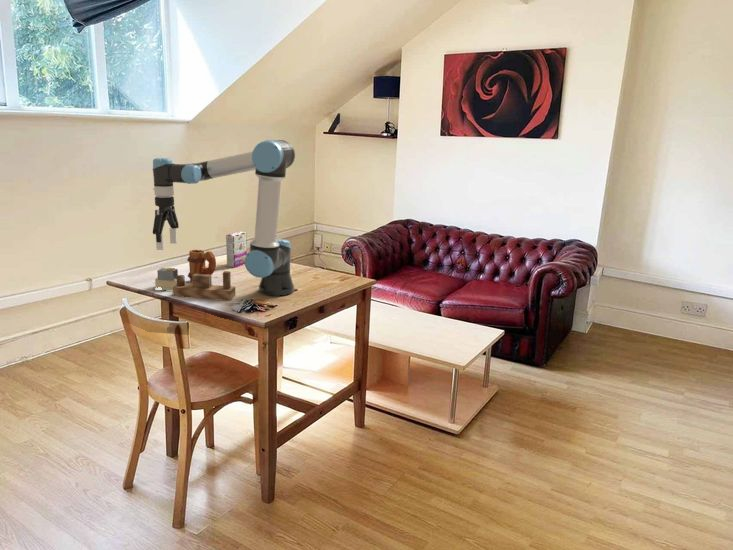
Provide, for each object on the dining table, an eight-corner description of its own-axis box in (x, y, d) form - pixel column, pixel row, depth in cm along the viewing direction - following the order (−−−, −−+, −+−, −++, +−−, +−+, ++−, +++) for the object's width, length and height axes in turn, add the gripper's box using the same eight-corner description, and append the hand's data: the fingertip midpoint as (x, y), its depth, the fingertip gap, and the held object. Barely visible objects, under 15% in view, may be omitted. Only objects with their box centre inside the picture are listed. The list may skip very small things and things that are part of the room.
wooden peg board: (235, 295, 239) (235, 270, 236) (230, 300, 232) (229, 274, 229) (179, 291, 240) (179, 266, 237) (173, 296, 233) (172, 270, 231)
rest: (184, 285, 250) (183, 276, 248) (174, 291, 240) (174, 282, 239) (162, 283, 250) (161, 275, 249) (151, 290, 241) (151, 281, 240)
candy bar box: (239, 262, 294) (238, 231, 290) (247, 263, 292) (247, 232, 288) (226, 266, 284) (225, 234, 280) (234, 268, 282) (234, 235, 278)
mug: (183, 281, 255) (182, 249, 251) (196, 278, 262) (195, 246, 258) (208, 287, 248) (207, 254, 244) (221, 283, 255) (220, 250, 251)
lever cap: (177, 278, 246) (177, 267, 245) (173, 280, 242) (173, 269, 240) (162, 276, 246) (161, 266, 245) (157, 279, 242) (157, 268, 241)
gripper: (168, 192, 247) (170, 240, 253) (141, 199, 223) (145, 252, 228) (184, 193, 247) (187, 241, 252) (160, 200, 223) (163, 253, 228)
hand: (167, 246), depth 240 cm, fingers open, 13 cm apart
